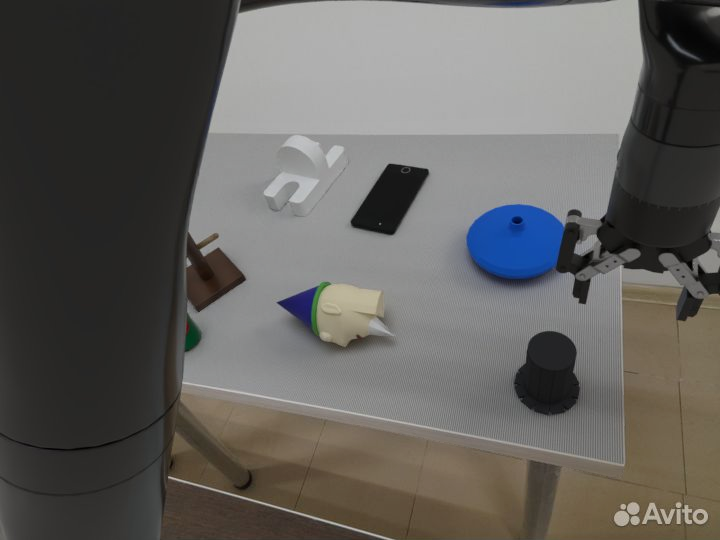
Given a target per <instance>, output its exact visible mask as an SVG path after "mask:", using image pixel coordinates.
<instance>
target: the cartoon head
mask: <svg viewBox="0 0 720 540" xmlns="http://www.w3.org/2000/svg"><path fill="white" fill-rule="evenodd" d="M385 296H386V295H385V291H384V290H378V289H370V288H369V289H368V288H360V287H357V286H355V285H353V284H348V283H332V282H330V281H322V282H320V283H319V285H317V286H314V287H312V288H311V287H310V288H308V289H306V290H304V291H302V292H299V293H296V294H294V295H291V296H289V297H287V298H284V299H281V300H279V301H276V304H277V305H279V306H280V307H281V308H282V309H284V310H285V311H286V312H288V313H290V314H291V315H292V316H293V317H295V318H296V319H297V320H298V321H300V322H301V323H303V324H304V325H305V326H307V327H308V328H309V329H310V330H312V331H313V333H314V335H316V336H318V337H319V338H320V340H321V341H323V342H326V343H334V344H336V345H338V346H341V347H344V348H346V347H347V346H348V345H349V343H350V342H351V341H352V340H355V339H358V340H363V339H364V338H365V337H367V336H380V337H387V338H397V336H396V335H395V334H394V333H393V332H392V331H391V329H389V328H388V326H386V324H384V323H383V322H382V321H381V319H379V318H384V316H385V307H386V306H385V305H386V297H385Z"/></svg>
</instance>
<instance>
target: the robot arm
mask: <svg viewBox="0 0 720 540" xmlns="http://www.w3.org/2000/svg"><path fill="white" fill-rule="evenodd" d="M346 1H347V2H350V1H353V2H355V1H356V2H357V1H359V2H361V1H362V2H363V1H364V2H365V1H366V2H392V3H405V4H406V3H408V4H423V5H433V6H449V7H463V8H466V7H467V8H485V9H486V8H488V9H489V8H490V9H538V8H550V7H551V8H552V7H564V6H565V7H567V6H577V5H579V6H580V5H589V4H600V3H608V2H616V1H617V0H0V527H1V531H2V536H3V538H4V540H162V539H161V533H162V525H163V519H164V513H165V507H166V500H167V493H168V483H169V474H170V466H171V459H172V452H173V445H174V440H175V435H176V430H177V425H178V417H179V411H180V403H181V395H182V386H183V380H184V369H185V352H186V350H185V340H186V325H187V313H188V298H187V267H188V266H187V265H188V263H187V260H188V258H187V238H188V232H189V230H190V220H191V215H192V210H193V204H194V198H195V193H196V189H197V185H198V179H199V175H200V171H201V167H202V162H203V158H204V154H205V149H206V145H207V140H208V137H209V132H210V127H211V123H212V119H213V115H214V110H215V107H216V104H217V100H218V99H217V98H218V96H219V90H220V87H221V83H222V80H223V79H222V78H223V75H224V71H225V67H226V63H227V60H228V56H229V53H230V47H231V44H232V41H233V36H234V34H235V33H234V32H235V29H236V25H237V21H238V15H239V14H243V13H248V12H253V11H256V10H261V9H266V8H273V7H278V6H279V7H280V6H288V5H296V4H307V3H308V4H309V3H321V2H322V3H323V2H346ZM637 10H638V28H639V36H640V44H641V52H642V63H641V67H640V70H639V71H640V72H639V76H638V81H637V85H636V91H635V94H634V100H633V105H632V109H631V113H630V116H629V120H628V122H627V126H626V128H625V130H624V133H623V136H622V140H621V142H620V146H619V149H618V151H617V155H616V165H615V171H614V176H613V180H612V185H611V190H610V195H609V200H608V204H607V208H606V212H605V214H604V215H603V216H602V217H601V218H600V219H595V218H590V217H589V218H588V217H583V213H582V211H581V210H579V209H575V208H574V209H569V210H568V211H567V214H566V219H565V222H564V232H563V236H562V240H561V245H560V249H559V254H558V259H557V264H556V266H555V271H556V272H558V273H559V274H567V273H570V274H572V275H573V276H574V280H573V287H572V293H571V294H572V297H573V298H574V299H578V304H580V305H587V302H588V301H587V300H588V296H589V291H590V287H591V280H592V278H594V277H595V276H597V275H598V274H599V275H600V274H602V275H605V274H607V273H610V272H611V271H614V270H615V269H617V268H619V267H620V266H623V269H627V270H644V271H648V272H651V273H656V274H662V275H664V273H665V272H669V273H670V274H671V275H672V277H673V278H674V279H675V280H676V281H677V283H678V284H679V285H680V286H681V287H682V286H683V287H682V289H681V292H680V294H679V297H678V300H677V302H676V312H675V313H676V315H675V316H676V317H675V319H676V321H680V322H686V321H687V320H688V317H689V318H694V317H696V316H697V315H698V312H699V311H700V308H701V306H702V304H703V302H704V300H705V299H706V298H708V297H709V295H710V296H711V295H718V296H719V297H720V265H719V267H718V270H717V271H716V272H708V270H707V269H706V268H705V267H704V265H703V264H702V263H701V261H700V260H699V257H700V256H702V255H703V256H704V255H705V254H706V253H708V252H709V251H710V249H712V250H714V251H716V253H717V254H716V255H717V258H719V259H720V232H714V231H713V232H712V230H711V229H712V227H713V224H714V222H715V220H716V218H717V215H718V212H719V210H720V0H637ZM591 235H592V236H594V235H595V236H596V238H597V241H596V242H595V243H594V245H593V246H592V247H590V248H589V249H588V250H585V251H584V252H582V253H581V254H578V253H576V252H575V249H576V246H577V245H582V243H583V242H584V241H586V240H587V239H588V238H589V237H590V236H591Z"/></svg>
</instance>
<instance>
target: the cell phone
mask: <svg viewBox="0 0 720 540" xmlns="http://www.w3.org/2000/svg"><path fill="white" fill-rule="evenodd" d="M429 174H430V171H429V169H428V168H425V167H419V166H418V167H417V166H411V165H403V164H398V163H388V164H387V165H386V166H385V168H384V170H383V171H382V172H381V174H380V176H378V178H377V180H376V181H375V184H373V186H372V188H371V189H370V191H369V192H368V194H367V195H366V197H365V199H364V200H363V201H362V203H361V204H360V206H359V208H358V209H357V210H356V212H355V213H354V215H353V216H352V218H351V220H350V225H351V227H353V228H358V229H363V230H368V231H373V232H377V233H383V234H386V235H387V234H388V235H393V234H395V233H396V230H397V229H398V227H399V225H400V223H401V222H402V220H403V218H404V217H405V214H407V211H408V210H409V208H410V207H411V204H412V203H413V201H414V199H415V198H416V197H417V196H416V195H417V194H418V192H419V191H420V189H421V187H422V185H423V183H424V182H425V181H426V178H427V177H428V175H429Z"/></svg>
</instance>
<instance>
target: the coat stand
mask: <svg viewBox="0 0 720 540" xmlns="http://www.w3.org/2000/svg"><path fill="white" fill-rule="evenodd" d="M219 237H220V234H219V233H217V232H214V233H212V234H211V235H209V236H208V237H206V238H204V239H203V240H201V241H199V242H198V243H196V242H195V240H194V238H193V236H192V235H191V233H190V232H189V231H188V238H187V260H188V261H189V262H190V264H189V266H187V300H188V301H189V302H190V303H191V305H192V306H193V307H194V308H195V310H196V311H197V313H199V312H200V311H203V310H204V309H205V308H207V307H208V306H210V305H211V304H212V303H214V302H215V301H217V300H218V299H220V298H221V297H223V296H224V295H226V294H227V293H229V292H230V291H231V290H233V289H234V288H236V287H238V286H239V285H240V284H242V283H243V282H245V281H247V277H246V275H245V274H244V273H243V272H242V271H241V270H240V269H239V267H237V265H236V264H235V263H234V262H233V261H232V260H231V259H230V258H229V256H227V255H226V253H225V252H224V251H223V250H222V249H221V248H220V247H219V246H218V247H217V248H214V249H213V250H212V251H210V252H208V253H207V254H205V255H204V254H203V253H202V251H201V249H203V248H205V247H206V246H208V245H209V244H211V243H213V242H214V241H216V240H217V239H219Z"/></svg>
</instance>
